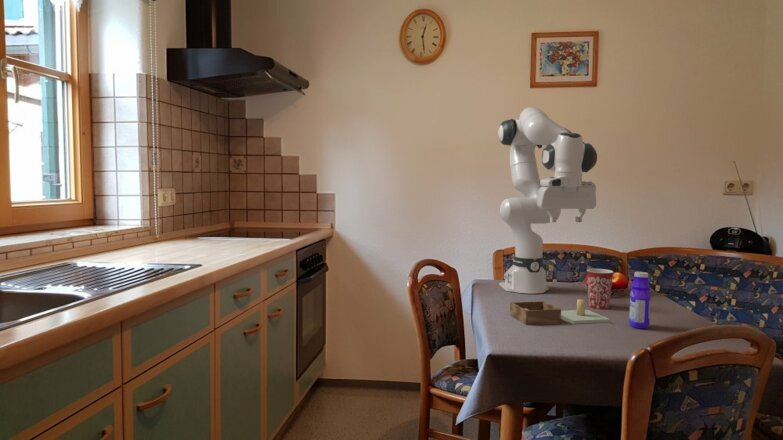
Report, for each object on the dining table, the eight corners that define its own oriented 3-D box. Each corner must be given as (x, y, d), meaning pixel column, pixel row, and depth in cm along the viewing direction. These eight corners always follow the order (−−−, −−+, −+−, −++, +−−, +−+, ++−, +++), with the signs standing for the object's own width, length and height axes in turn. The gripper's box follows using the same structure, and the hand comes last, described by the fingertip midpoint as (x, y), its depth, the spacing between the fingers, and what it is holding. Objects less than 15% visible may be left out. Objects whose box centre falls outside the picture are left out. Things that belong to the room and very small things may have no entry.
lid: (552, 313, 190) (553, 296, 189) (587, 312, 193) (587, 295, 192) (573, 323, 177) (573, 305, 177) (609, 322, 180) (610, 303, 179)
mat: (550, 315, 190) (550, 313, 190) (587, 313, 193) (587, 312, 193) (572, 326, 177) (572, 324, 176) (611, 324, 180) (611, 322, 179)
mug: (610, 311, 198) (612, 273, 197) (584, 308, 202) (585, 271, 201) (613, 304, 209) (615, 268, 208) (588, 301, 213) (589, 266, 212)
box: (509, 317, 187) (510, 302, 187) (542, 315, 190) (543, 301, 189) (525, 326, 175) (526, 310, 175) (560, 324, 178) (561, 309, 177)
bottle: (626, 323, 181) (629, 270, 180) (644, 324, 180) (647, 271, 179) (632, 329, 174) (635, 274, 173) (651, 330, 173) (654, 274, 172)
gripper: (590, 181, 192) (588, 221, 193) (535, 180, 188) (534, 221, 189) (601, 181, 186) (598, 223, 187) (544, 181, 181) (542, 223, 183)
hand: (565, 222), depth 188 cm, fingers open, 8 cm apart
